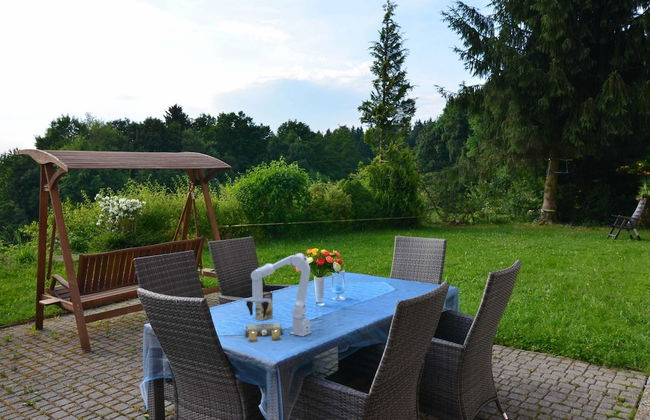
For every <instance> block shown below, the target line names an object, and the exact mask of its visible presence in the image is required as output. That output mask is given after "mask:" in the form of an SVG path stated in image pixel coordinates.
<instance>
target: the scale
mask: <svg viewBox="0 0 650 420" xmlns="http://www.w3.org/2000/svg"><path fill="white" fill-rule="evenodd" d="M273 329H280V336H283V335H284V334H283V326H282V324H281V323H280V322H268V323H253V324H252V323H251V324H247V325H245V338H249V331H251V330H256V331H257V338H258V337H268V336H269V337H272V330H273Z"/></svg>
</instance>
